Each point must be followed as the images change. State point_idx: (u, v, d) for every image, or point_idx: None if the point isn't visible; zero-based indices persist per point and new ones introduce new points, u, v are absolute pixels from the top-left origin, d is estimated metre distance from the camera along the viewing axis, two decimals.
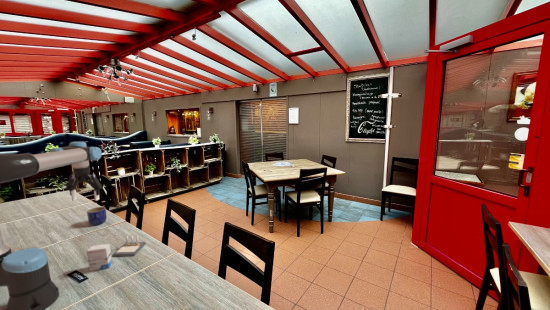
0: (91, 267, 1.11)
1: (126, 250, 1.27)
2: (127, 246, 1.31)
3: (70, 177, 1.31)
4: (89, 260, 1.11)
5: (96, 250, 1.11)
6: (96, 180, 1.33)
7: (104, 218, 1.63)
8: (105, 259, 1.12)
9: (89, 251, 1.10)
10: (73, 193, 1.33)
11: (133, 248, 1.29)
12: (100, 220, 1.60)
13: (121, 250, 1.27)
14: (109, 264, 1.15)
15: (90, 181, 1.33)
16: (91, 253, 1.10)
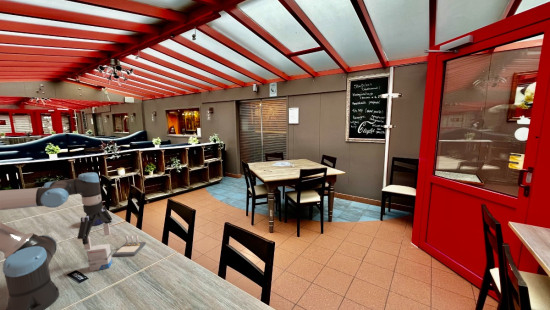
0: (91, 267, 1.11)
1: (126, 250, 1.27)
2: (127, 246, 1.31)
3: None
4: (89, 260, 1.11)
5: (96, 250, 1.11)
6: (82, 226, 1.03)
7: None
8: (105, 259, 1.12)
9: (89, 251, 1.10)
10: (105, 226, 1.18)
11: (133, 248, 1.29)
12: (100, 220, 1.60)
13: (121, 250, 1.27)
14: (109, 264, 1.15)
15: (88, 223, 1.06)
16: (91, 253, 1.10)
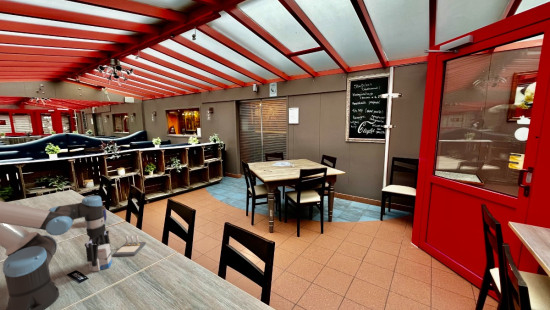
0: (91, 267, 1.11)
1: (126, 250, 1.27)
2: (127, 246, 1.31)
3: None
4: None
5: None
6: (88, 251, 1.06)
7: (104, 218, 1.63)
8: (104, 259, 1.12)
9: None
10: None
11: (133, 248, 1.29)
12: None
13: (121, 250, 1.27)
14: (109, 264, 1.15)
15: (93, 247, 1.10)
16: None
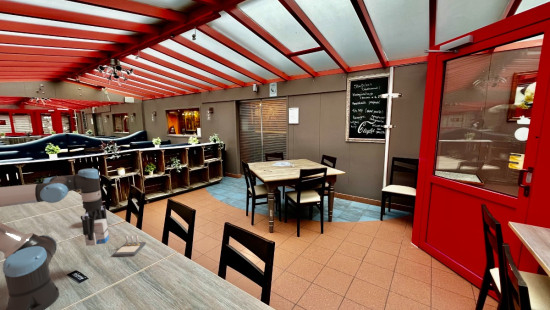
0: (87, 241, 1.09)
1: (126, 250, 1.27)
2: (127, 246, 1.31)
3: None
4: None
5: None
6: (84, 224, 1.04)
7: None
8: (101, 233, 1.10)
9: None
10: None
11: (133, 248, 1.29)
12: None
13: (121, 250, 1.27)
14: (106, 239, 1.12)
15: (89, 220, 1.08)
16: None
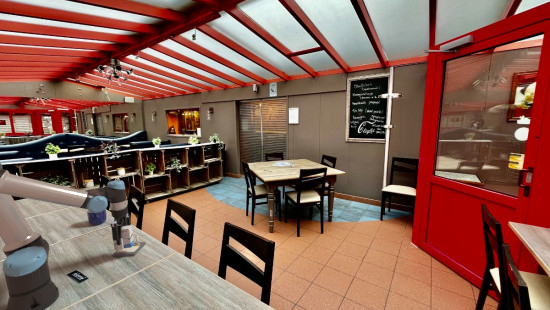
0: (115, 246, 1.21)
1: (126, 250, 1.27)
2: None
3: None
4: None
5: None
6: (114, 230, 1.16)
7: (104, 218, 1.63)
8: (128, 238, 1.22)
9: None
10: None
11: (133, 248, 1.29)
12: (100, 220, 1.60)
13: (121, 250, 1.27)
14: (131, 244, 1.24)
15: None
16: None
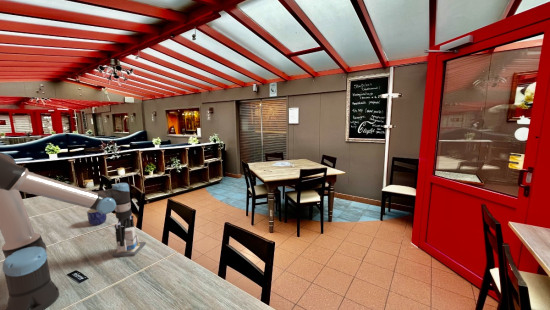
0: (119, 247, 1.24)
1: (126, 250, 1.27)
2: None
3: None
4: None
5: None
6: (117, 232, 1.19)
7: (104, 218, 1.63)
8: (131, 240, 1.25)
9: None
10: None
11: None
12: (100, 220, 1.60)
13: None
14: (134, 245, 1.27)
15: (121, 229, 1.22)
16: None
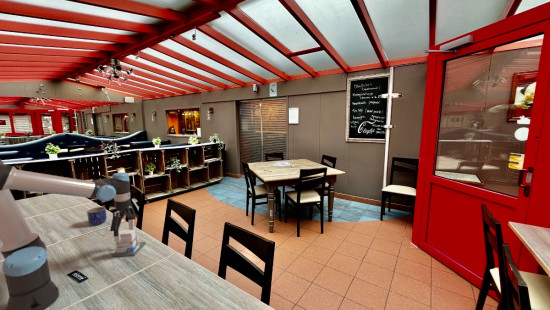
0: (119, 249, 1.24)
1: None
2: None
3: None
4: (117, 243, 1.23)
5: (123, 234, 1.23)
6: (114, 220, 1.17)
7: (104, 218, 1.63)
8: (130, 243, 1.24)
9: None
10: (130, 222, 1.31)
11: None
12: (100, 220, 1.60)
13: None
14: (134, 248, 1.26)
15: None
16: None
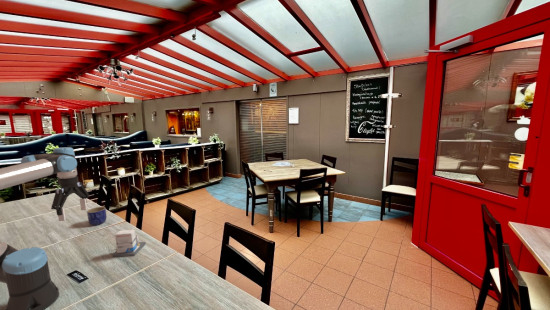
0: (119, 249, 1.24)
1: None
2: None
3: None
4: (117, 243, 1.23)
5: (123, 234, 1.23)
6: (56, 197, 1.07)
7: (104, 218, 1.63)
8: (130, 243, 1.24)
9: (117, 235, 1.22)
10: (81, 201, 1.22)
11: None
12: (100, 220, 1.60)
13: None
14: (134, 248, 1.26)
15: (62, 196, 1.10)
16: (119, 237, 1.23)
